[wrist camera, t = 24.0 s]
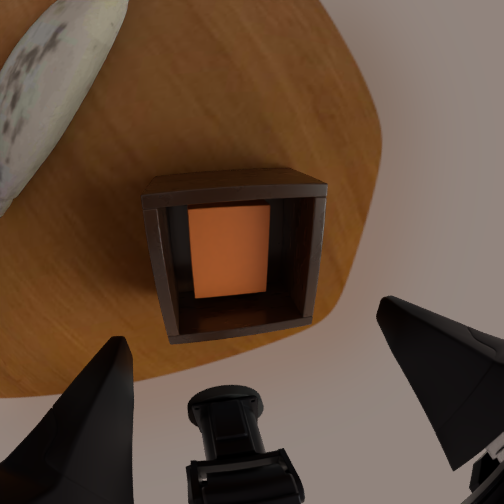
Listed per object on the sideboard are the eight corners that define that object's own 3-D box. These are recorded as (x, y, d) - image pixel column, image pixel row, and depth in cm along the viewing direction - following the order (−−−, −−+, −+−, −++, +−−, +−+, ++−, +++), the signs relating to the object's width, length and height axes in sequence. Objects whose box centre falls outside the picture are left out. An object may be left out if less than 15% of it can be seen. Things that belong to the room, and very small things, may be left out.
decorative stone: (-20, 191, 10) (-49, 206, 7) (90, -22, 7) (74, -45, 4) (38, 229, 13) (11, 252, 10) (165, 1, 9) (160, -27, 6)
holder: (285, 283, 18) (311, 324, 14) (171, 296, 17) (169, 345, 13) (291, 168, 15) (328, 183, 11) (154, 176, 14) (140, 195, 10)
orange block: (257, 274, 17) (266, 291, 15) (193, 280, 16) (194, 298, 14) (260, 195, 15) (270, 204, 13) (187, 198, 14) (187, 209, 12)
